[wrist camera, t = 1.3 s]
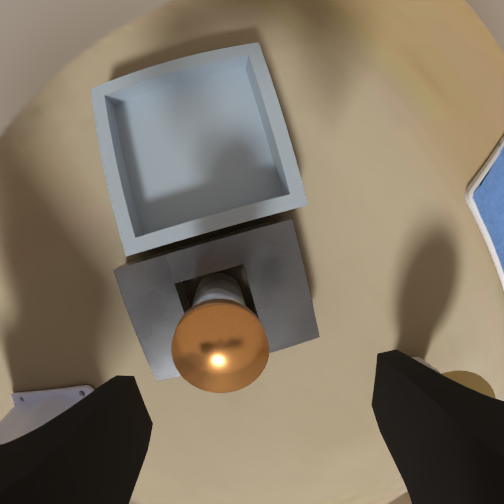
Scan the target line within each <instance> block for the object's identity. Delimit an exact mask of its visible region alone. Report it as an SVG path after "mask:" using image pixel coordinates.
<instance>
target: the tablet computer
mask: <svg viewBox="0 0 504 504" xmlns="http://www.w3.org/2000/svg"><path fill="white" fill-rule="evenodd" d="M465 199H466V202H467V205H468V207H469V209H470V211H471V213H472V215H473V217H474V219H475V221H476V223H477V225H478V227H479V229H480V231H481V233H482V236H483V238H484V240H485V242H486V245H487V247H488V249H489V252H490V254H491V257H492V259H493V262H494V265H495V267H496V270H497V273H498V276H499V278H500V281H501V284H502V287H503V291H504V136H503V138H502V139H501V141H500V142H499V144H498V145H497V147H496V148H495V150H494V151H493V153H492V154H491V156H490V157H489V159H488V160H487V161H486V163H485V164H484V166H483V167H482V168H481V170H480V171H479V173H478V174H477V175H476V176H475V178H474V179H473V180H472V182H471V183H470V184H469V186H468V187H467V189H466V192H465Z"/></svg>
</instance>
